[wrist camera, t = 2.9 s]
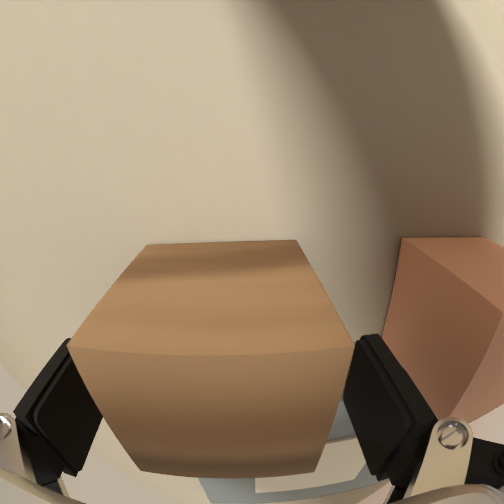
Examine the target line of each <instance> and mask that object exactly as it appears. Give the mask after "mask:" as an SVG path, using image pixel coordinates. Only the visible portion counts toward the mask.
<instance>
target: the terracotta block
mask: <svg viewBox="0 0 504 504" xmlns="http://www.w3.org/2000/svg"><path fill="white" fill-rule="evenodd" d="M381 338H382V339H383V340H384V342H385V343H386V345H387V346H388V347H389V349H390V350H391V352H392V353H393V355H394V356H395V357H396V359H397V360H398V362H399V363H400V365H401V366H402V367H403V368H404V369H405V370H406V372H407V373H408V375H409V376H410V378H411V379H412V381H413V382H414V384H415V385H416V387H417V388H418V390H419V391H420V393H421V394H422V396H423V397H424V399H425V400H426V402H427V403H428V405H429V406H430V408H431V410H432V411H433V413H434V414H435V416H436V417H437V419H438V421H439V420H441V419H443V418H446V417H457V418H460V419H462V420H464V421H465V422H467V423H470V422H472V421H474V420H476V419H478V418H479V417H481V416H483V415H485V414H487V413H488V412H490V411H492V410H494V409H495V408H497V407H499V406H500V405H502V404H503V403H504V248H503V247H501V246H499V245H497V244H496V243H494V242H492V241H490V240H488V239H486V238H484V237H425V238H402V241H401V247H400V254H399V260H398V266H397V271H396V276H395V282H394V286H393V291H392V296H391V300H390V305H389V309H388V313H387V317H386V321H385V325H384V329H383V333H382V337H381Z"/></svg>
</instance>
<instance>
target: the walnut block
mask: <svg viewBox="0 0 504 504" xmlns="http://www.w3.org/2000/svg"><path fill="white" fill-rule="evenodd" d="M354 346H355V345H354V343H353V341H352V340H351V338H350V336H349V334H348V332H347V330H346V328H345V326H344V324H343V323H342V321H341V319H340V317H339V315H338V313H337V311H336V310H335V308H334V306H333V304H332V302H331V301H330V299H329V297H328V295H327V293H326V291H325V290H324V288H323V286H322V284H321V283H320V281H319V279H318V277H317V275H316V274H315V272H314V270H313V268H312V267H311V265H310V263H309V261H308V260H307V258H306V256H305V254H304V253H303V251H302V249H301V248H300V246H299V244H298V242H297V241H296V240H273V241H240V242H210V243H182V244H157V245H146V246H145V248H144V249H143V250H142V251H141V252H140V253H139V254H138V256H137V257H136V258H135V259H134V260H133V261H132V262H131V264H130V265H129V266H128V267H127V268H126V270H125V271H124V272H123V273H122V274H121V275H120V277H119V278H118V279H117V280H116V282H115V283H114V284H113V285H112V286H111V288H110V289H109V290H108V291H107V293H106V294H105V295H104V296H103V298H102V299H101V300H100V301H99V303H98V304H97V305H96V306H95V308H94V309H93V310H92V312H91V313H90V314H89V316H88V317H87V318H86V319H85V321H84V322H83V323H82V325H81V326H80V327H79V329H78V330H77V332H76V333H75V334H74V336H73V337H72V338H71V340H70V341H69V343H68V344H67V348H68V350H69V352H70V355H71V357H72V359H73V361H74V363H75V365H76V367H77V370H78V372H79V374H80V376H81V378H82V380H83V382H84V383H85V385H86V387H87V389H88V391H89V393H90V395H91V397H92V398H93V400H94V402H95V404H96V405H97V407H98V409H99V411H100V412H101V414H102V416H103V417H104V419H105V420H106V422H107V424H108V425H109V427H110V428H111V430H112V431H113V433H114V435H115V436H116V438H117V439H118V440H119V442H120V443H121V445H122V446H123V448H124V449H125V451H126V452H127V453H128V455H129V456H130V457H131V459H132V460H133V461H134V463H135V464H136V465H137V467H138V468H139V469H140V470H141V471H145V472H152V473H159V474H166V475H175V476H185V477H198V478H224V479H240V478H266V477H279V476H289V475H298V474H305V473H312V472H315V470H316V467H317V465H318V462H319V460H320V457H321V455H322V452H323V449H324V447H325V444H326V441H327V438H328V436H329V433H330V430H331V427H332V424H333V421H334V418H335V415H336V412H337V409H338V405H339V402H340V399H341V395H342V392H343V389H344V385H345V382H346V378H347V374H348V370H349V367H350V363H351V359H352V355H353V351H354Z"/></svg>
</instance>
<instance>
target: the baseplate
mask: <svg viewBox="0 0 504 504" xmlns="http://www.w3.org/2000/svg"><path fill="white" fill-rule="evenodd" d="M345 386H346V383H345V385H344V389H343V392H342V395H341V399H340V402H339V405H338V409H337V412H336V415H335V418H334V421H333V424H332V427H331V430H330V433H329V436H328V438H327V441H326V444H325V447H324V449H323V452H322V455H321V457H320V460H319V462H318V465H317V467H316V470H315V472H312V473H305V474H298V475H289V476H279V477H266V478H240V479H224V478H198V479H199V481H200V483H201V485H202V487H203V489H204V491H205V493H206V495H207V497H208V499H209V500H210V502H211V503H214V504H256V503H273V502H285V501H294V500H302V499H309V498H315V497H321V496H327V495H332V494H337V493H341V492H346V491H350V490H354V489H358V488H362V487H366V486H370V485H373V484H376V483H380V482H382V481H383V480H381V481H377V478H376V475H374V476H372V475H371V474H370V472H369V469H368V466H367V464H366V461H365V458H364V455H363V453H362V450H361V447H360V444H359V442H358V439H357V436H356V434H355V431H354V428H353V426H352V423H351V420H350V418H349V415H348V413H347V410H346V407H345V405H344V401H343V393H344V390H345Z"/></svg>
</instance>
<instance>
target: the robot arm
mask: <svg viewBox="0 0 504 504" xmlns="http://www.w3.org/2000/svg"><path fill="white" fill-rule="evenodd" d="M70 340H71V338H67V339H66V340H65V341H64V342H63V343H62V345H61V346H60V347H59V348H58V350H57V351H56V352H55V354H54V355H53V356H52V358H51V359H50V360H49V361H48V363H47V364H46V365H45V367H44V368H43V369H42V371H41V372H40V374H39V375H38V376H37V378H36V379H35V380H34V382H33V383H32V385H31V386H30V388H29V389H28V390H27V392H26V393H25V395H24V396H23V398H22V399H21V401H20V402H19V404H18V405H17V407H16V408H15V410H14V411H13V412H14V413H15V415H16V418H15V419H14V418H13V417H12V416H11V415H9V414H7V413H0V504H85V503H82V502H80V501H77V500H74V499H71V498H70V497H69V495H68V492H67V490H66V488H65V485H64V483H63V480H62V477H61V474H62V471H63V472H64V473H66V474H69V475H72V476H74V477H76V476H77V473H78V471H80V470H82V468H83V466H84V463H85V460H86V458H87V455H88V452H89V450H90V447H91V445H92V442H93V440H94V437H95V435H96V432H97V430H98V427H99V425H100V423H101V420H102V418H103V416H102V414H101V412H100V411H99V409H98V407H97V405H96V404H95V402H94V400H93V398H92V397H91V395H90V393H89V391H88V389H87V387H86V385H85V383H84V382H83V380H82V378H81V376H80V374H79V372H78V370H77V367H76V365H75V363H74V361H73V359H72V357H71V355H70V352H69V350H68V348H67V344H68V343H69V341H70ZM343 401H344V405H345V407H346V410H347V413H348V415H349V418H350V420H351V423H352V426H353V428H354V431H355V434H356V436H357V439H358V442H359V444H360V447H361V450H362V453H363V455H364V458H365V461H366V464H367V466H368V469H369V472H370V474H371V475H372V476H374V475H376V478H377V481H381V480H384V479H388V478H389V479H390V482H391V484H392V487H391V490H390V492H389V494H388V496H387V498H386V500H385V502H384V504H504V445H503V444H498V443H494V442H490V441H485V440H481V439H477V438H473V432H472V429H471V427H470V426H469V425H468V423H467V422H465V421H464V420H462V419H460V418H457V417H446V418H443V419H441V420H439V421H438V419H437V417H436V416H435V414H434V413H433V411H432V410H431V408H430V406H429V405H428V403H427V402H426V400H425V399H424V397H423V396H422V394H421V393H420V391H419V390H418V388H417V387H416V385H415V384H414V382H413V381H412V379H411V378H410V376H409V375H408V373H407V372H406V370H405V369H404V368H403V367H402V366H401V365H400V363H399V362H398V360H397V359H396V357H395V356H394V355H393V353H392V352H391V350H390V349H389V347H388V346H387V345H386V343H385V342H384V340H383V339H382V338H381V336H380V335H379V334H371V335H364V336H362V337H361V338H360V340H358V341H356V344H355V348H354V353H353V357H352V361H351V366H350V370H349V374H348V378H347V382H346V386H345V390H344V393H343Z"/></svg>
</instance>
